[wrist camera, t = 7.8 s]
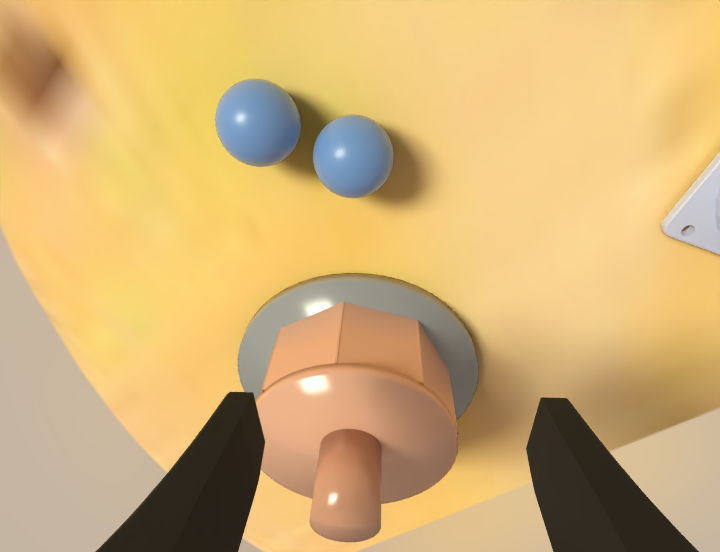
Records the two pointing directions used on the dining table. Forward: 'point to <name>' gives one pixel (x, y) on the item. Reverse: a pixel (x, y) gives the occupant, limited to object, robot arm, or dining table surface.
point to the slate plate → (372, 294)
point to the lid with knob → (356, 416)
